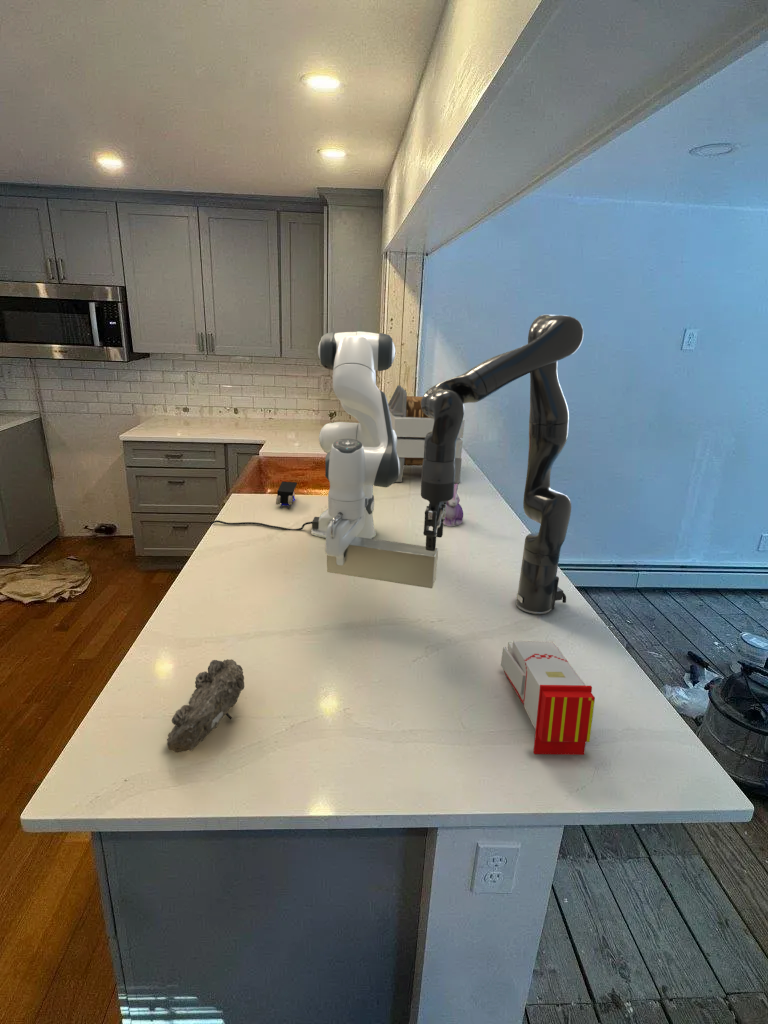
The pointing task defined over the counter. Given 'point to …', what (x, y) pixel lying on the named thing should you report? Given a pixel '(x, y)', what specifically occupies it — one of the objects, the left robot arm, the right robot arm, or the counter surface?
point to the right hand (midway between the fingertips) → (434, 543)
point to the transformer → (415, 431)
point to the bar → (387, 562)
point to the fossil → (206, 705)
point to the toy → (550, 696)
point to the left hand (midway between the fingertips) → (345, 558)
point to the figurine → (453, 510)
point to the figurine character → (286, 494)
